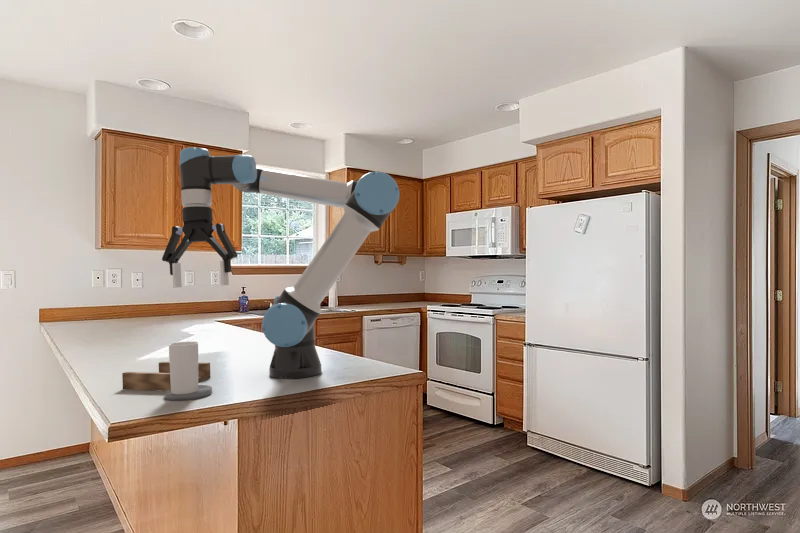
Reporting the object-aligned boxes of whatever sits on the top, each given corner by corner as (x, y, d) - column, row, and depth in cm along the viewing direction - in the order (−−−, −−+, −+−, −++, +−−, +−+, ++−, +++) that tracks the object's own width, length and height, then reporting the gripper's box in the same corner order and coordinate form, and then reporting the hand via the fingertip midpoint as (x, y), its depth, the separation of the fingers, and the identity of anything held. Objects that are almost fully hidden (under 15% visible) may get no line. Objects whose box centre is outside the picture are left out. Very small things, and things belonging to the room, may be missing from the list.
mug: (194, 394, 124) (193, 345, 124) (165, 395, 123) (164, 346, 123) (206, 384, 134) (205, 339, 134) (180, 385, 133) (179, 340, 133)
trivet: (220, 390, 133) (220, 385, 133) (195, 401, 122) (194, 396, 122) (183, 388, 135) (183, 384, 135) (154, 399, 124) (154, 395, 124)
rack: (210, 377, 148) (210, 362, 148) (175, 391, 133) (175, 374, 133) (162, 376, 152) (161, 361, 152) (122, 389, 136) (122, 373, 136)
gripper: (247, 205, 138) (251, 283, 139) (162, 211, 142) (166, 287, 142) (234, 202, 131) (238, 284, 131) (145, 208, 134) (149, 289, 135)
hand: (201, 286), depth 137 cm, fingers open, 13 cm apart
